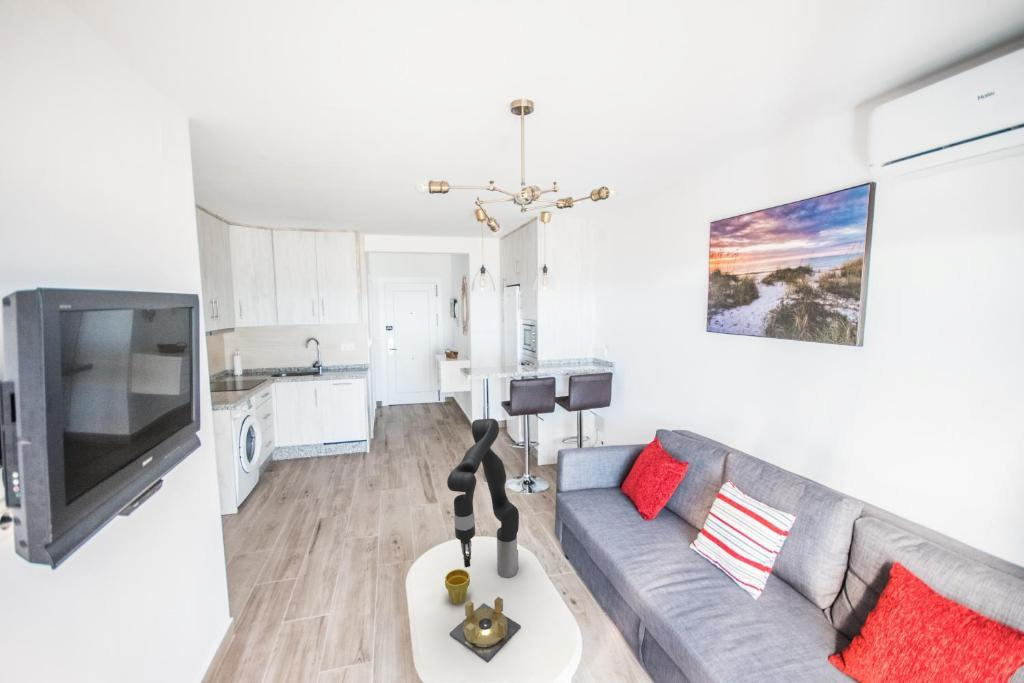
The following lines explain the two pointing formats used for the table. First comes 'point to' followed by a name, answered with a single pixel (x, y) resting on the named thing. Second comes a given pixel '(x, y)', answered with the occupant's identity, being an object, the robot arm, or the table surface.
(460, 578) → the plant pot
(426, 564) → the table surface
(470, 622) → the pegged brass disc
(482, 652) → the flange plate
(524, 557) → the table surface
